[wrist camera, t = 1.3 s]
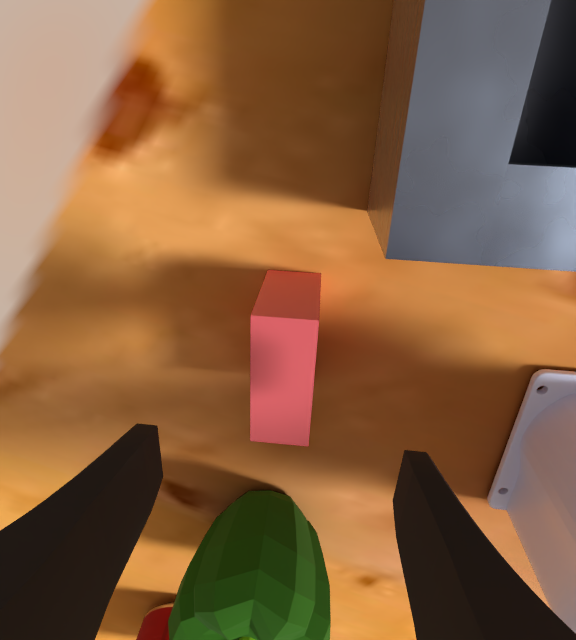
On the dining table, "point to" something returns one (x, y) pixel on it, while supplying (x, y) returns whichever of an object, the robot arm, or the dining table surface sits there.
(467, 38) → the grey box with slot
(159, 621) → the soda can
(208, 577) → the bell pepper
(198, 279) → the dining table surface
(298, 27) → the dining table surface
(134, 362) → the dining table surface
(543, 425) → the robot arm
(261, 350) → the pink flat block
